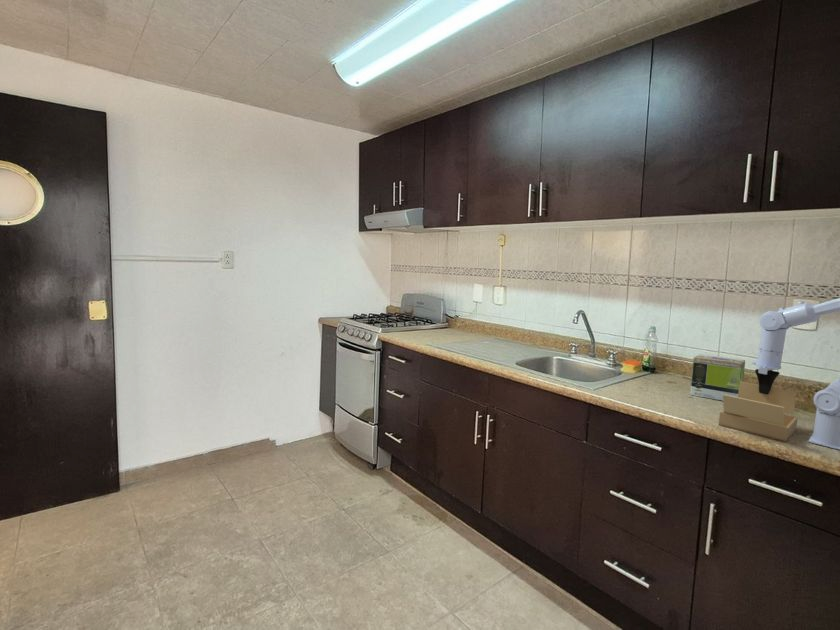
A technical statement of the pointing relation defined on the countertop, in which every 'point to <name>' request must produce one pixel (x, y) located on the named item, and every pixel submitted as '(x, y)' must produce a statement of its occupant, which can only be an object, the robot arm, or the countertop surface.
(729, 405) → the flap
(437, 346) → the countertop surface
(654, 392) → the countertop surface
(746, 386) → the flap
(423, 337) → the countertop surface
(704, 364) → the tea box
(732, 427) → the carton
